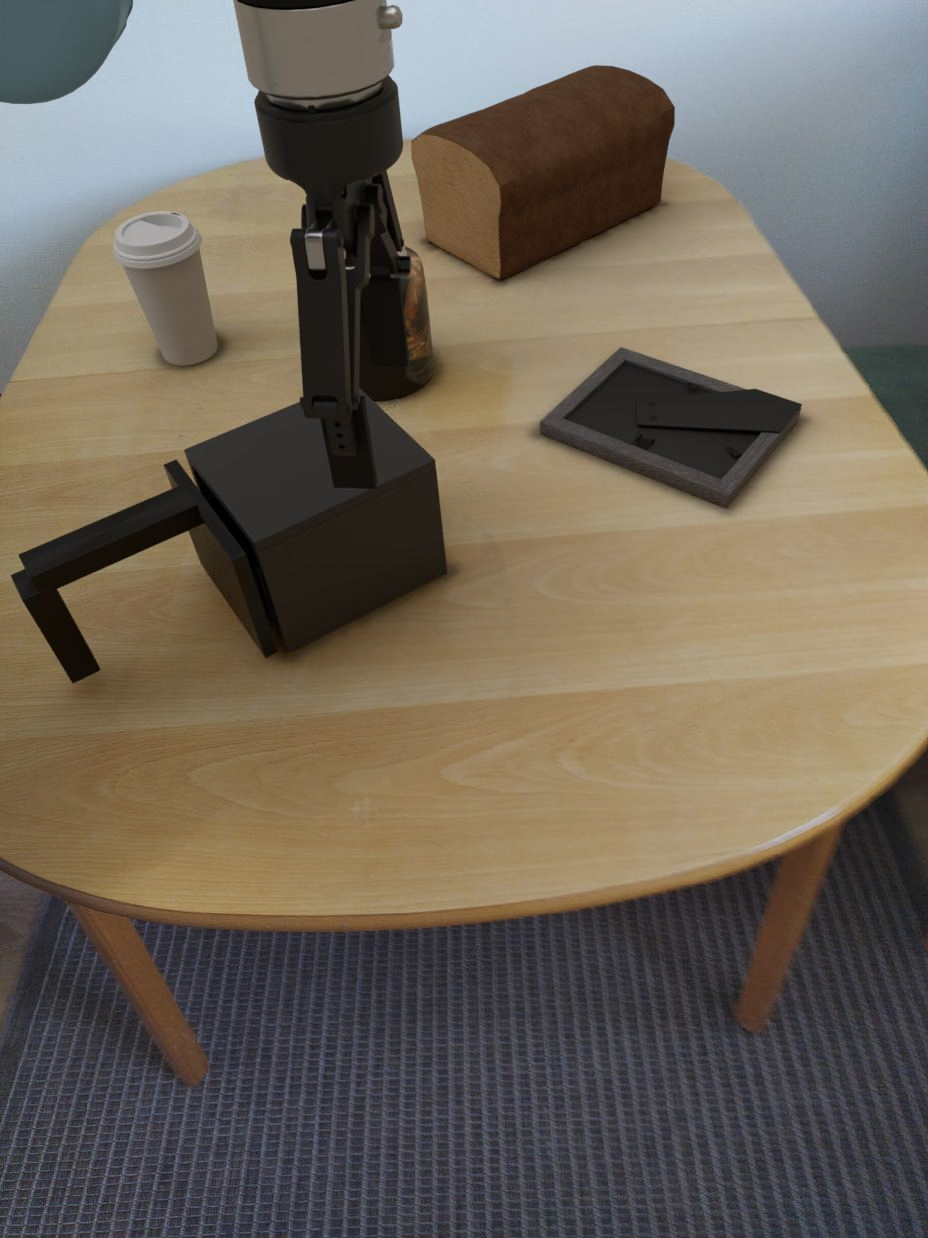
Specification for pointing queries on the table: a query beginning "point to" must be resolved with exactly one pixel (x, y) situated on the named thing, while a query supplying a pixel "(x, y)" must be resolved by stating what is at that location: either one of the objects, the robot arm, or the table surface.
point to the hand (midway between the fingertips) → (374, 420)
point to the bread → (544, 168)
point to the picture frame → (672, 424)
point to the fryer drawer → (130, 534)
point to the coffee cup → (169, 283)
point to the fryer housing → (326, 518)
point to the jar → (421, 364)
